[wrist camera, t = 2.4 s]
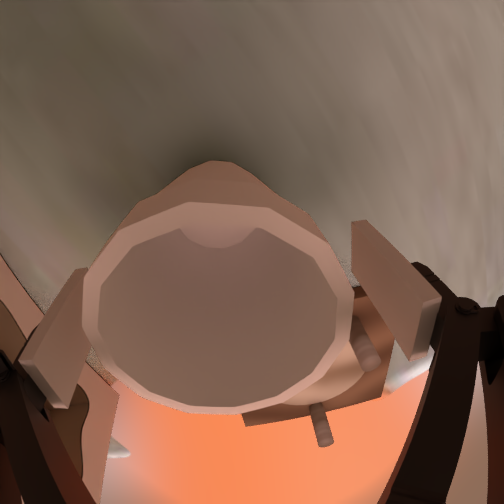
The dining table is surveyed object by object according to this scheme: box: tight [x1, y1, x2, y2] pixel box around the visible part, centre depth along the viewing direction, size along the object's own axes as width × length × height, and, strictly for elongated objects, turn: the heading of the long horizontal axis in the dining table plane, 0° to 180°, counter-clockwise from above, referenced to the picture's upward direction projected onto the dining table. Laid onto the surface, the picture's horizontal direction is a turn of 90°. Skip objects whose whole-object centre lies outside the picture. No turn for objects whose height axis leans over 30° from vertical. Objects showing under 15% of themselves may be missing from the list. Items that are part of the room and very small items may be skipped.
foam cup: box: [82, 160, 355, 415], centre depth 16 cm, size 10×9×13 cm
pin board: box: [241, 286, 395, 447], centre depth 27 cm, size 16×16×6 cm
